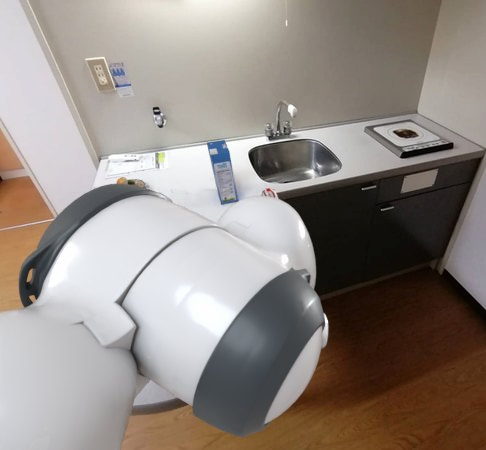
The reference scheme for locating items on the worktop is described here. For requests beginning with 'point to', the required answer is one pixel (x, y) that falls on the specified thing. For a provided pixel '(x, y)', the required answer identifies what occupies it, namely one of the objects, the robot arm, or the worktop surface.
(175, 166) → the worktop surface
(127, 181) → the garnished food dish
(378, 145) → the worktop surface
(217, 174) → the milk carton
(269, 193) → the ice cream cone
